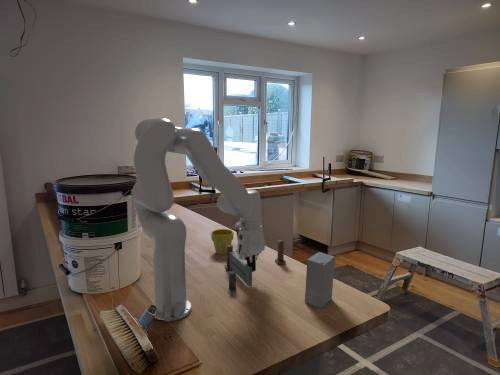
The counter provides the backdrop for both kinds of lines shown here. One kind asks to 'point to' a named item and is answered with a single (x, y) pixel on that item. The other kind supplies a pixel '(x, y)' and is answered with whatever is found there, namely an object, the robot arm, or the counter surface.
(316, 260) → the skincare box
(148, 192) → the robot arm
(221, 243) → the plant pot
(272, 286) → the counter surface
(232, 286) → the gate posts
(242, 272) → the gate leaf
